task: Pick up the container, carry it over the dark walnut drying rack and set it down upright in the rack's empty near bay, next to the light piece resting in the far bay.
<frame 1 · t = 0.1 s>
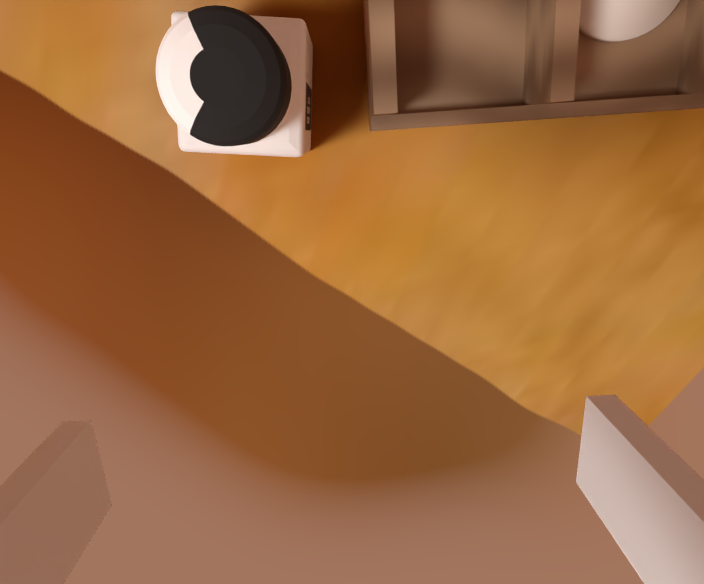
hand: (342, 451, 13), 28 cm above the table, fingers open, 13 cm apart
container: (260, 96, 36), on the table
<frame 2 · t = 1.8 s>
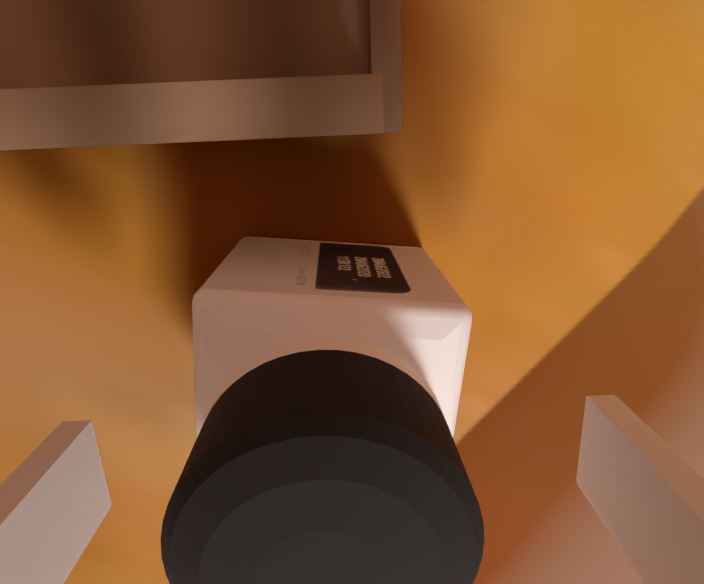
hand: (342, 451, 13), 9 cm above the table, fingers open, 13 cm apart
container: (328, 324, 22), on the table
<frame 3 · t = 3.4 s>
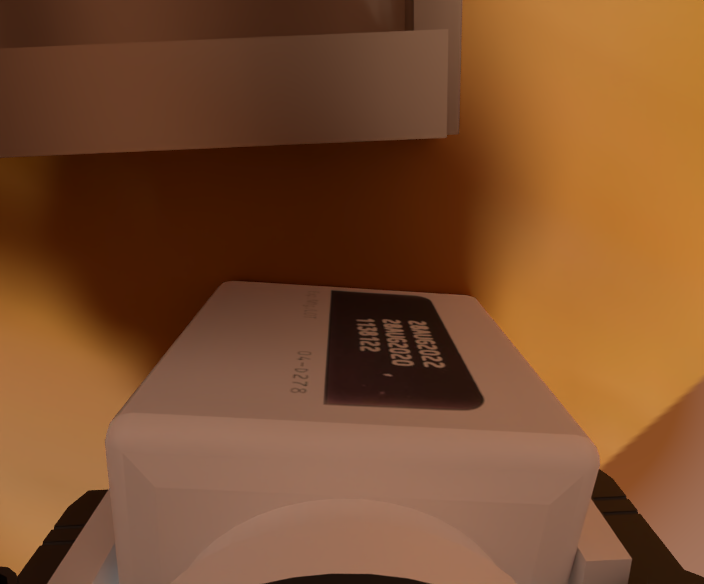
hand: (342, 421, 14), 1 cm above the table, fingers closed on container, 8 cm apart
container: (342, 395, 16), on the table, touching gripper
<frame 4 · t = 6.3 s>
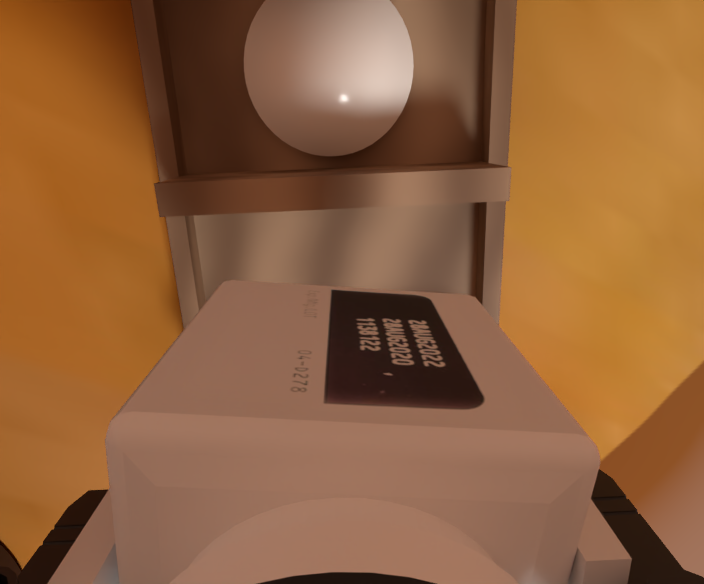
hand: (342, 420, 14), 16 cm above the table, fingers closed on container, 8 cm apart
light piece: (329, 70, 25), point 1 cm above the table, touching rack
rack: (335, 180, 28), on the table
container: (342, 394, 16), point 14 cm above the table, touching gripper
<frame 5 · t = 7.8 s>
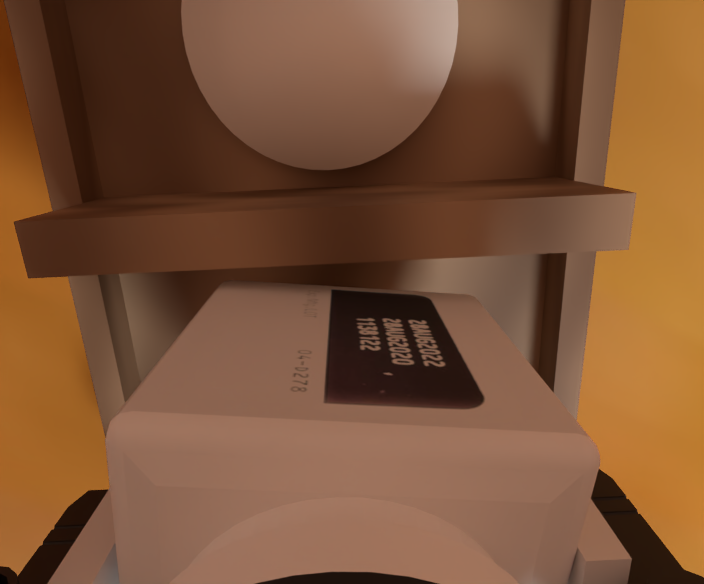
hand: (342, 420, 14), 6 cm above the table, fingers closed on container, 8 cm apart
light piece: (322, 34, 16), point 1 cm above the table, touching rack
rack: (331, 204, 18), on the table
container: (342, 394, 16), point 4 cm above the table, touching gripper
when the fingers open (5 cm above the table, at t = 9.0 s): container drops 2 cm, resting on rack.
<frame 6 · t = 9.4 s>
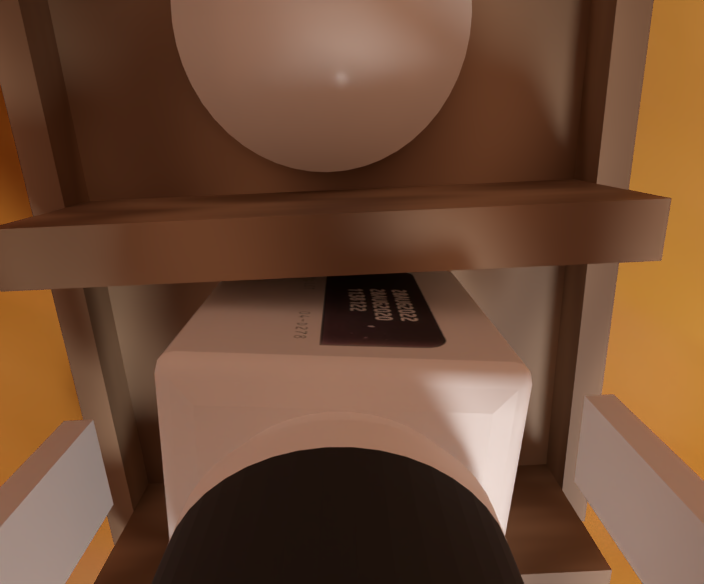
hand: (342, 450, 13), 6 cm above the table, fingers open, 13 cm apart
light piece: (323, 25, 15), point 1 cm above the table, touching rack
rack: (334, 208, 17), on the table
container: (340, 362, 18), point 1 cm above the table, touching rack
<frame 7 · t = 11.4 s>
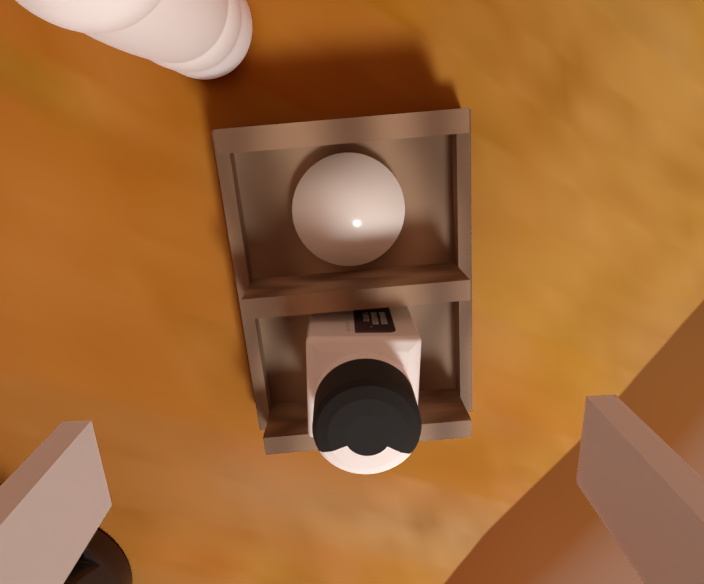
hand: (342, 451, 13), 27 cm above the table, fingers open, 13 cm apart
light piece: (348, 209, 37), point 1 cm above the table, touching rack
rack: (353, 276, 40), on the table
container: (358, 343, 41), point 1 cm above the table, touching rack
water bottle: (204, 26, 34), on the table
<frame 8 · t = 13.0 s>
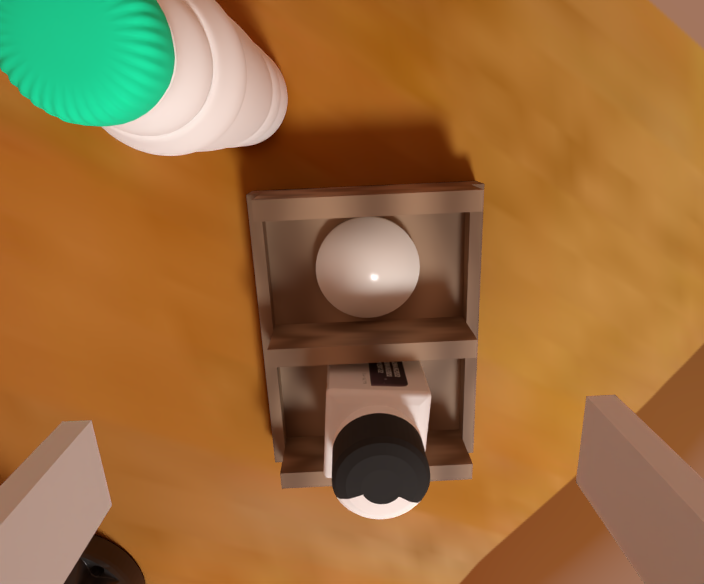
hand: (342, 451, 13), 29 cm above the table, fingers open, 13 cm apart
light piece: (367, 265, 40), point 1 cm above the table, touching rack
rack: (368, 324, 43), on the table
container: (370, 385, 44), point 1 cm above the table, touching rack
water bottle: (242, 97, 37), on the table
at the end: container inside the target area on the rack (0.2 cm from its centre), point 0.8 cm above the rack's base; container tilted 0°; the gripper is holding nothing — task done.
